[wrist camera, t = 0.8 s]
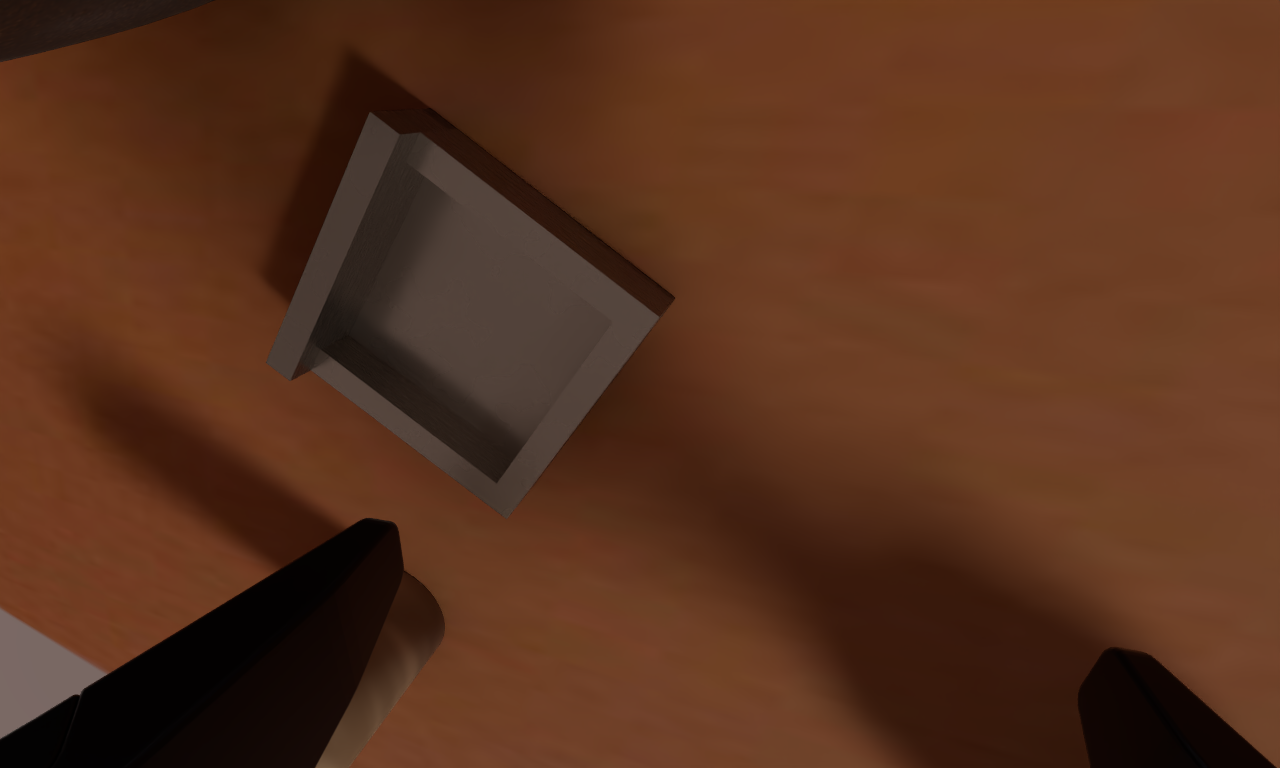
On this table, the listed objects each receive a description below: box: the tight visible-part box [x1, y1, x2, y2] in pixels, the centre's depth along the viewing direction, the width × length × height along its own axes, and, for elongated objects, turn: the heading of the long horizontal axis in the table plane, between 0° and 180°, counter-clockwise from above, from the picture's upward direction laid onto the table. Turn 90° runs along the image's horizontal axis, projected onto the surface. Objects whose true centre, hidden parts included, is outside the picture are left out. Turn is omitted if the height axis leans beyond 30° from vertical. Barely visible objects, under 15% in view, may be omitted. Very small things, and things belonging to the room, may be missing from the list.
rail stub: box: [315, 572, 445, 768], centre depth 24 cm, size 5×5×14 cm
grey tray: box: [266, 108, 675, 519], centre depth 22 cm, size 10×10×3 cm
